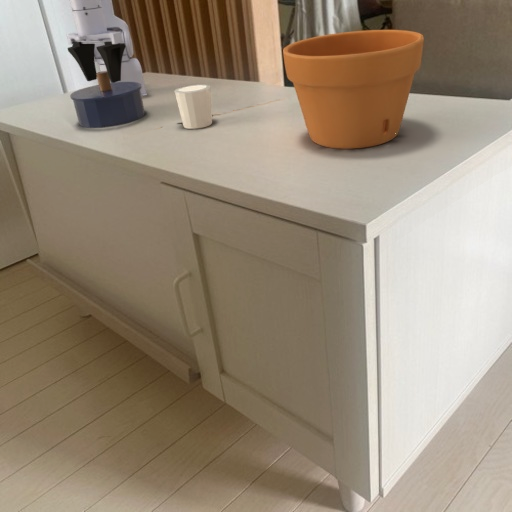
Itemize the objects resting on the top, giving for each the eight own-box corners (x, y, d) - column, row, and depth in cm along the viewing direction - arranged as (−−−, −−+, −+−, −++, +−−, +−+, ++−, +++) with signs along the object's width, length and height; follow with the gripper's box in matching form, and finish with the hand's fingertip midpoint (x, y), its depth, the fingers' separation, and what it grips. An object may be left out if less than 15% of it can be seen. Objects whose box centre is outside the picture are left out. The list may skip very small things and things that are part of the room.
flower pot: (345, 167, 77) (342, 59, 70) (265, 138, 93) (256, 47, 86) (447, 132, 86) (455, 33, 79) (358, 111, 102) (358, 27, 95)
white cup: (220, 119, 107) (215, 83, 104) (206, 129, 101) (201, 91, 98) (189, 119, 109) (183, 84, 106) (174, 129, 104) (167, 92, 100)
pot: (133, 108, 123) (128, 81, 120) (153, 119, 112) (148, 90, 109) (74, 121, 118) (66, 93, 115) (89, 134, 107) (81, 104, 104)
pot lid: (130, 83, 121) (125, 62, 119) (151, 93, 109) (147, 69, 107) (64, 96, 115) (58, 74, 113) (80, 108, 104) (74, 83, 102)
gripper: (47, 13, 106) (66, 83, 112) (94, 10, 98) (112, 86, 104) (76, 8, 110) (93, 76, 117) (124, 5, 102) (138, 78, 109)
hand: (103, 80), depth 111 cm, fingers open, 7 cm apart
